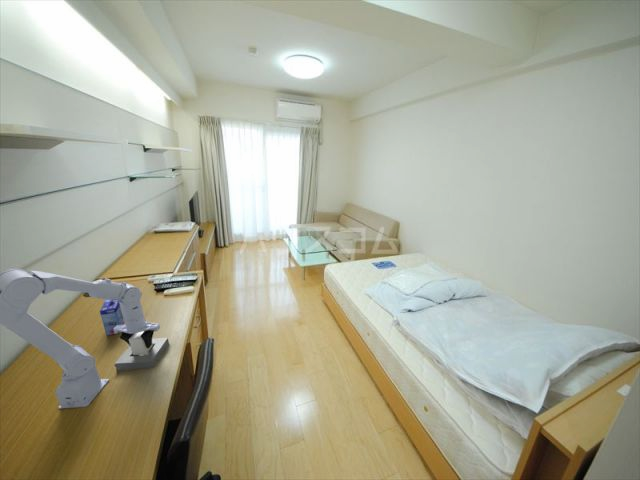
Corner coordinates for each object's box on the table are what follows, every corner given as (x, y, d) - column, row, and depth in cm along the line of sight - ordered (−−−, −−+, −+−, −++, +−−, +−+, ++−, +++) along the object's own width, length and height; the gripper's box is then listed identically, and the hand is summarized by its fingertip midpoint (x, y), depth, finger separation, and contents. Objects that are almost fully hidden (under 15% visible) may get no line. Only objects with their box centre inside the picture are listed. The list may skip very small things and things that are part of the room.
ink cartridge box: (122, 332, 104) (114, 303, 99) (106, 336, 101) (96, 306, 97) (126, 319, 112) (118, 291, 108) (111, 323, 110) (102, 295, 105)
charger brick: (146, 354, 89) (142, 338, 87) (133, 355, 89) (128, 339, 86) (153, 344, 94) (149, 329, 91) (140, 345, 93) (136, 330, 91)
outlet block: (152, 368, 87) (150, 361, 86) (116, 370, 86) (114, 363, 85) (169, 343, 98) (167, 337, 97) (137, 345, 97) (135, 338, 96)
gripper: (161, 308, 91) (167, 338, 95) (119, 310, 89) (128, 340, 94) (150, 320, 84) (158, 351, 88) (105, 322, 83) (115, 354, 87)
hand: (142, 346), depth 90 cm, fingers closed on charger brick, 4 cm apart
